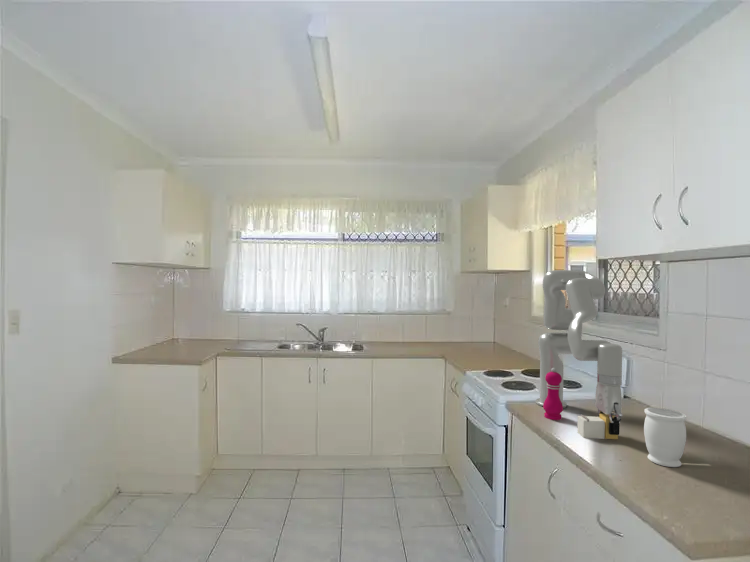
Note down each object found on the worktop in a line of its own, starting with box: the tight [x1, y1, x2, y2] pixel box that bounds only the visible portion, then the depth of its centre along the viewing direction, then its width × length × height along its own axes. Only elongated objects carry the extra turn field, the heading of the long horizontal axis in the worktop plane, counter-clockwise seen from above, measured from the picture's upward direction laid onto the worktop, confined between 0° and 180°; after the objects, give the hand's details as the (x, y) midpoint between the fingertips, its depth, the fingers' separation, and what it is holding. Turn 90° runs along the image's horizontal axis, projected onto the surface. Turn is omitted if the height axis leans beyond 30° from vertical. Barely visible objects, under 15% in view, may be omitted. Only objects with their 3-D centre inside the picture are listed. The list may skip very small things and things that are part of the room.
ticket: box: [577, 414, 605, 440], centre depth 149 cm, size 5×7×6 cm
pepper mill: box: [542, 368, 564, 421], centre depth 168 cm, size 7×7×20 cm
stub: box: [598, 414, 619, 440], centre depth 149 cm, size 5×4×7 cm
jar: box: [643, 407, 687, 468], centre depth 129 cm, size 11×10×15 cm
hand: (608, 429), depth 149 cm, fingers open, 7 cm apart
